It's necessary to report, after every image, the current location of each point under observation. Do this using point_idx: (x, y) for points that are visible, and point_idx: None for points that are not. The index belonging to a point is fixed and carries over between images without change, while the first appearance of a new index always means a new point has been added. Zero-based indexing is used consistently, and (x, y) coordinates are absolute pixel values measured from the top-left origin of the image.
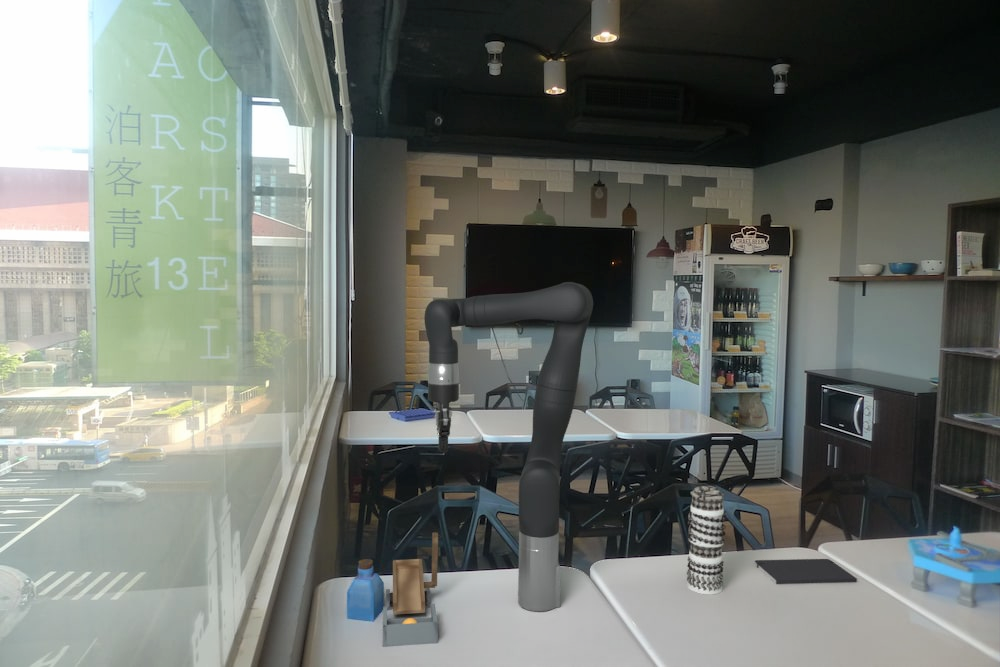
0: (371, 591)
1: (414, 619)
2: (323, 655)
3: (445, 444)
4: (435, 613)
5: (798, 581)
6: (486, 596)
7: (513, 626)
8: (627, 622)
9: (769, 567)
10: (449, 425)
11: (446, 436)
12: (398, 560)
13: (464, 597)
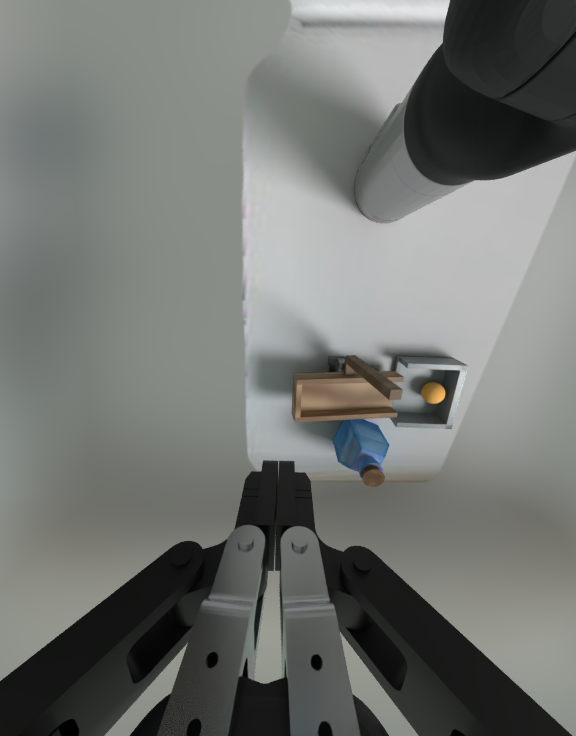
0: (387, 448)
1: (435, 390)
2: (435, 469)
3: (311, 502)
4: (437, 365)
5: None
6: (342, 271)
7: (447, 248)
8: None
9: None
10: (517, 692)
11: (328, 547)
12: (296, 414)
13: (338, 306)
